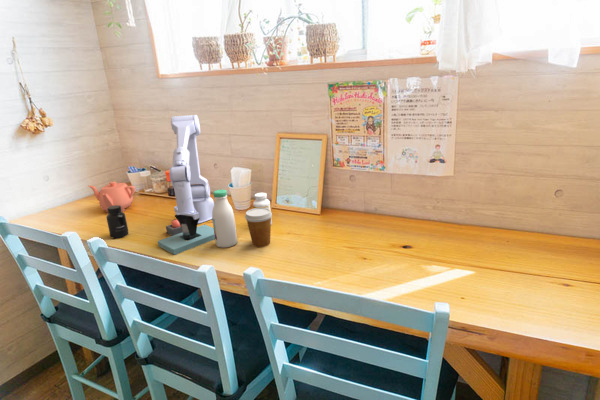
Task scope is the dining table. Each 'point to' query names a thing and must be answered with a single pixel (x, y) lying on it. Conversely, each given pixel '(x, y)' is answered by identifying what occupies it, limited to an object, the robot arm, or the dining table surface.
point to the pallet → (179, 245)
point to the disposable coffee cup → (259, 226)
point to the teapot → (114, 195)
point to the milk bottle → (223, 220)
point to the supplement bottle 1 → (117, 222)
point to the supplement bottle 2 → (261, 201)
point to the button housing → (173, 230)
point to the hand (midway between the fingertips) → (189, 233)
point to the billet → (186, 232)
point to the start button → (175, 223)
